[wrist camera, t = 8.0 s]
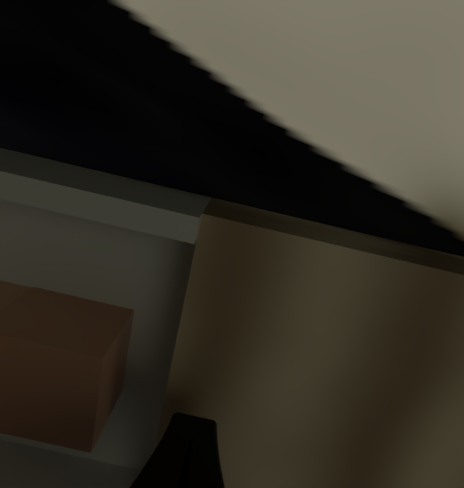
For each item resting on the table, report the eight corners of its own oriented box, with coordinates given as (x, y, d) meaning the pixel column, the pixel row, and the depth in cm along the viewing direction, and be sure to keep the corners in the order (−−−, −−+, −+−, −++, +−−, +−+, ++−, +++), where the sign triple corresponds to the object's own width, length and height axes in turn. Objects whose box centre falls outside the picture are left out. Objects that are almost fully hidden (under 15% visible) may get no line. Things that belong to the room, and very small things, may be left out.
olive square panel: (153, 473, 17) (137, 528, 15) (211, 197, 13) (201, 213, 10) (429, 534, 17) (457, 598, 15) (582, 285, 13) (657, 320, 10)
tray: (-74, 422, 17) (-185, 522, 13) (-99, 124, 12) (-283, 122, 8) (153, 473, 17) (120, 588, 13) (211, 197, 13) (190, 233, 8)
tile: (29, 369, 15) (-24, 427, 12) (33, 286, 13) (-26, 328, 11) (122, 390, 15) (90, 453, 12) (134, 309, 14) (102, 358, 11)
